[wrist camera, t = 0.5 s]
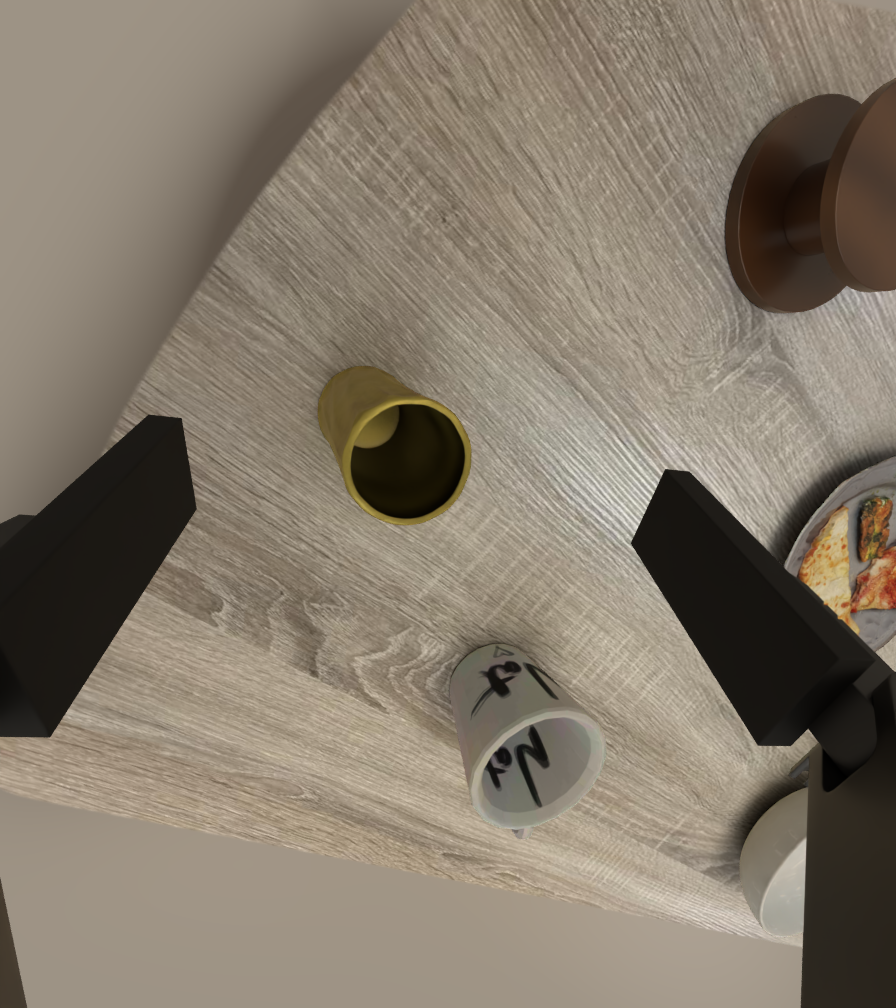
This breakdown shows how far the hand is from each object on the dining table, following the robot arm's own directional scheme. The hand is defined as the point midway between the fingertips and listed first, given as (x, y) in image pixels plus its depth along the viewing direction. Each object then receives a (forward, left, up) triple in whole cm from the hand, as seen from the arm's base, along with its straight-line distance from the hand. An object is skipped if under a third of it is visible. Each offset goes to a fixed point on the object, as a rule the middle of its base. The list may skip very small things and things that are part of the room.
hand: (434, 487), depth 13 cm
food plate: (+20, +50, -20) cm, 58 cm away
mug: (+27, +9, -20) cm, 35 cm away
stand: (-12, +34, -20) cm, 42 cm away
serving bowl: (+59, +51, -20) cm, 81 cm away
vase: (+1, 0, -20) cm, 20 cm away
